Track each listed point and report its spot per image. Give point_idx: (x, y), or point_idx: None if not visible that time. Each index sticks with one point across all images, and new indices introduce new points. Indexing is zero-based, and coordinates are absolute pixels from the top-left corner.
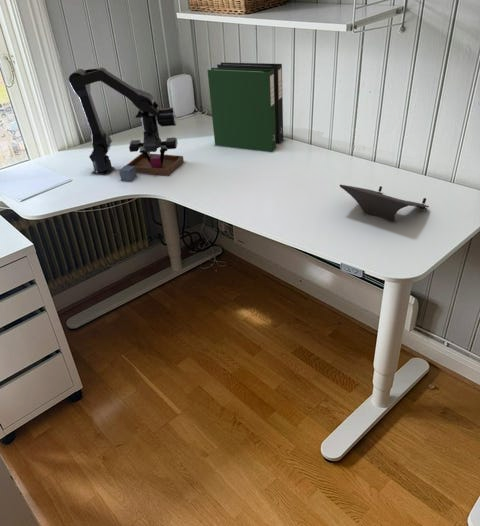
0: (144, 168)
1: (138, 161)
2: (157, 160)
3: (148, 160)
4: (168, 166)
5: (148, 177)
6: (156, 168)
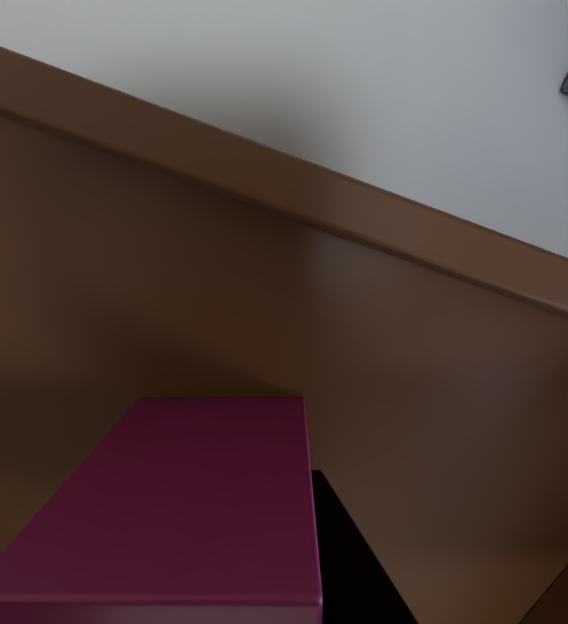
0: (449, 218)
1: (530, 621)
2: (101, 519)
3: (376, 565)
4: (24, 415)
5: (314, 20)
6: (61, 99)
